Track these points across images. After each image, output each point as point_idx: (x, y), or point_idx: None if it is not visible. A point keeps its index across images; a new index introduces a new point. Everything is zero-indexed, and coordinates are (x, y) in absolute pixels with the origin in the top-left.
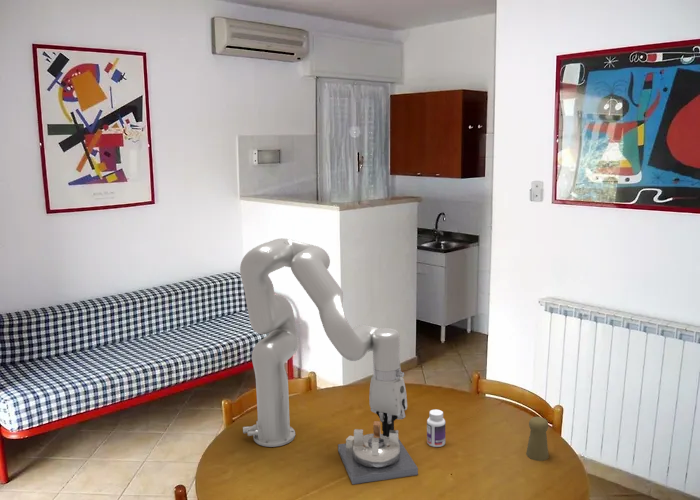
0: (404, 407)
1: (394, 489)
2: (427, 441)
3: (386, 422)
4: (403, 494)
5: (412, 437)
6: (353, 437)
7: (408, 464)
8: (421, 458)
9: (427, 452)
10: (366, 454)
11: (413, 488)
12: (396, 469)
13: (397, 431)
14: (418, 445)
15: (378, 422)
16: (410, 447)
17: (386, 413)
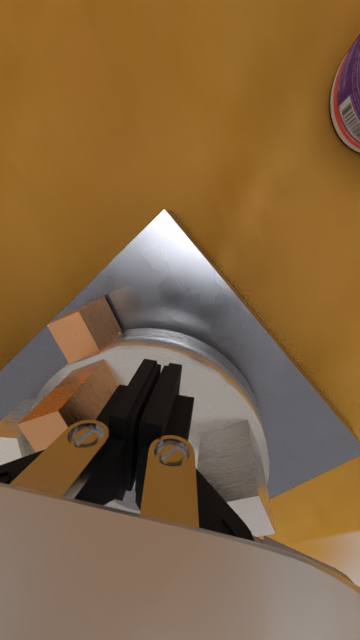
0: (345, 603)
1: (290, 522)
2: (342, 132)
3: (130, 477)
4: (328, 536)
5: (224, 100)
6: (10, 446)
7: (316, 440)
8: (337, 304)
9: (355, 234)
10: None
11: (355, 503)
12: (276, 484)
13: (258, 510)
14: (287, 181)
15: (59, 433)
16: (251, 224)
17: (72, 486)
